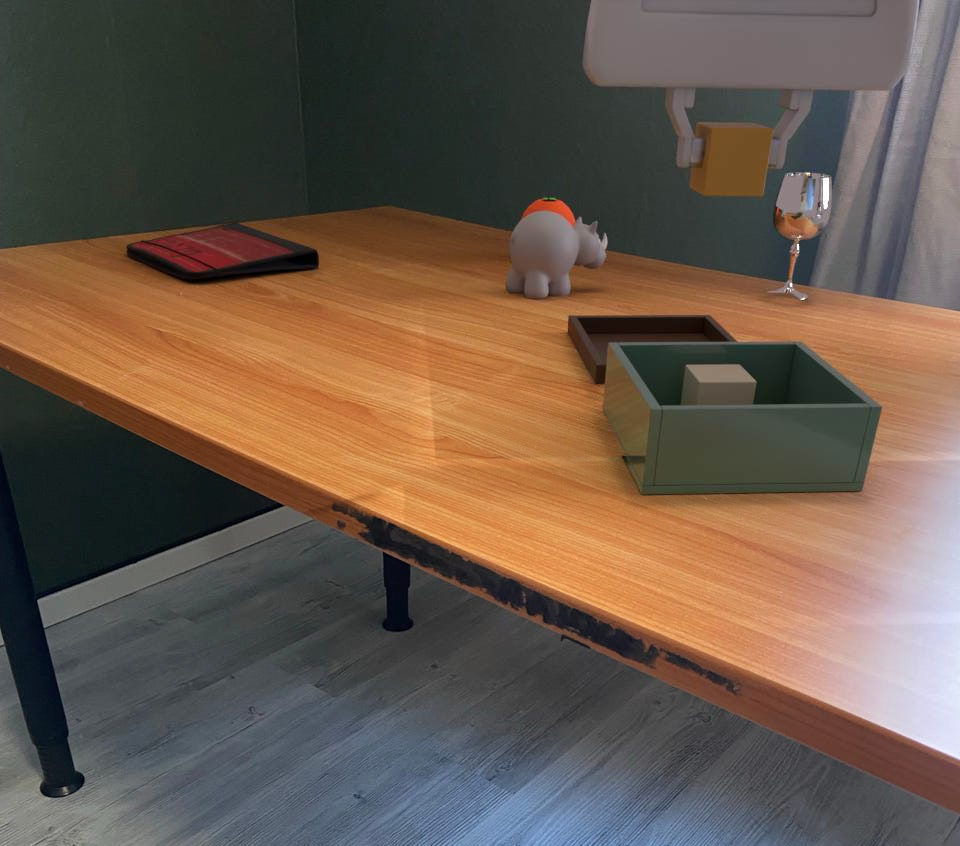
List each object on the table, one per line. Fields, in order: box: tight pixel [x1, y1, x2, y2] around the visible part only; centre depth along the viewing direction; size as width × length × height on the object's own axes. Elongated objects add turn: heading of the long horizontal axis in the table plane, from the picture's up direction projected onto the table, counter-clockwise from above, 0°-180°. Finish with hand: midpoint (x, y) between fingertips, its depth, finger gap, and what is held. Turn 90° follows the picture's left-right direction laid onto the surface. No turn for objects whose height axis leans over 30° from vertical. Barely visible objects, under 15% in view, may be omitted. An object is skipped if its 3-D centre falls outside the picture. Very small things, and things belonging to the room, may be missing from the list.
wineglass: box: [766, 171, 833, 301], centre depth 105 cm, size 6×6×12 cm
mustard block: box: [689, 121, 774, 198], centre depth 66 cm, size 4×4×4 cm
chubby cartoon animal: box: [504, 211, 608, 300], centre depth 105 cm, size 7×12×8 cm, turn 119°
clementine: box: [520, 196, 576, 226], centre depth 122 cm, size 8×7×7 cm
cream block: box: [681, 364, 756, 405], centre depth 70 cm, size 4×4×4 cm
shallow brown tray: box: [567, 314, 739, 385], centre depth 86 cm, size 13×15×2 cm
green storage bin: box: [602, 340, 883, 496], centre depth 68 cm, size 14×14×6 cm
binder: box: [125, 221, 320, 280], centre depth 119 cm, size 16×2×21 cm
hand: (729, 167), depth 66 cm, fingers closed on mustard block, 4 cm apart
